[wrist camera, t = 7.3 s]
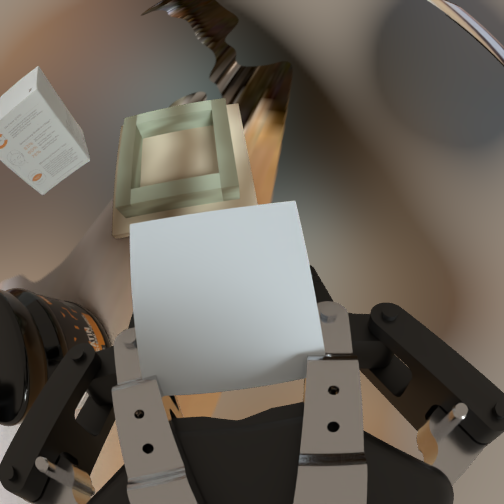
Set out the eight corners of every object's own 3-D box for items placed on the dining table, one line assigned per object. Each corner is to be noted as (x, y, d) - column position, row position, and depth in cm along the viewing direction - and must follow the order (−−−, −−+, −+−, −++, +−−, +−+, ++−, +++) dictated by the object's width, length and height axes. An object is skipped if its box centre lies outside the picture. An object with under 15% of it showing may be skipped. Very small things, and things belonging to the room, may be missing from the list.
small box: (83, 131, 29) (39, 63, 16) (91, 161, 27) (37, 88, 15) (38, 164, 28) (-15, 109, 15) (42, 197, 26) (-23, 142, 14)
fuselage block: (204, 357, 16) (145, 396, 6) (195, 287, 18) (129, 224, 7) (276, 347, 17) (328, 373, 6) (264, 278, 18) (295, 200, 7)
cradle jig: (116, 238, 25) (100, 226, 21) (124, 131, 29) (114, 112, 25) (258, 215, 26) (260, 198, 22) (238, 109, 29) (237, 88, 26)
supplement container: (128, 406, 21) (51, 448, 9) (48, 401, 20) (-31, 418, 8) (110, 296, 23) (25, 267, 12) (35, 307, 23) (-47, 286, 11)
